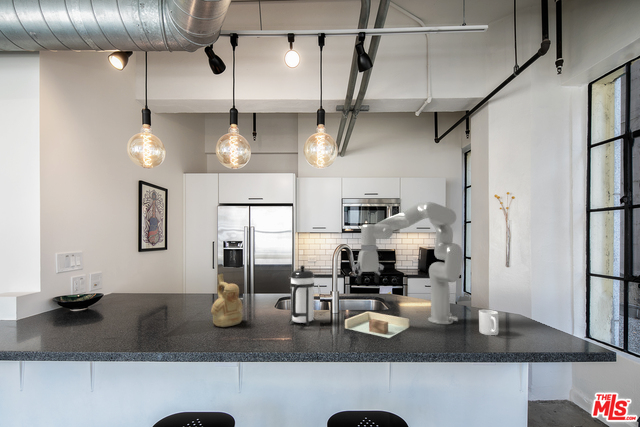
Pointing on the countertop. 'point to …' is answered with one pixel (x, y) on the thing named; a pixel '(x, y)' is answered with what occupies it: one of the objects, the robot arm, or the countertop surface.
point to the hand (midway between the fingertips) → (368, 282)
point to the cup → (488, 322)
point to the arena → (363, 319)
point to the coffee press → (302, 296)
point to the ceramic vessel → (227, 305)
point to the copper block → (378, 326)
